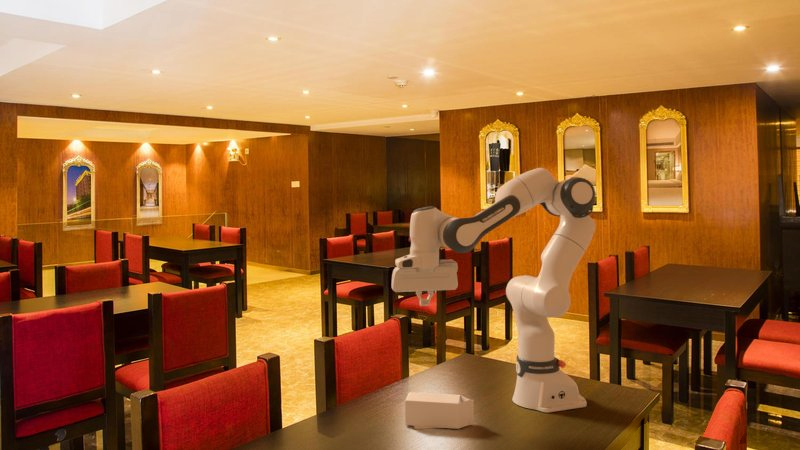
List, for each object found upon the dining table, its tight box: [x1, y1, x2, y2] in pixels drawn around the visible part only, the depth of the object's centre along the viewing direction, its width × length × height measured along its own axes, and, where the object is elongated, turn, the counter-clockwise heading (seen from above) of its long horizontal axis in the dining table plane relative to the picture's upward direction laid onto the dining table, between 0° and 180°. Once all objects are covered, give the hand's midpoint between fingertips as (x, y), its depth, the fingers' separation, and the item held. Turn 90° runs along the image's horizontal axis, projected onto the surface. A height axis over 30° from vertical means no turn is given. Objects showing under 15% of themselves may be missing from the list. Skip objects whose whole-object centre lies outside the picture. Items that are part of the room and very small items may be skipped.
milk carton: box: [404, 391, 475, 430], centre depth 165 cm, size 7×7×19 cm
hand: (424, 305), depth 178 cm, fingers closed
